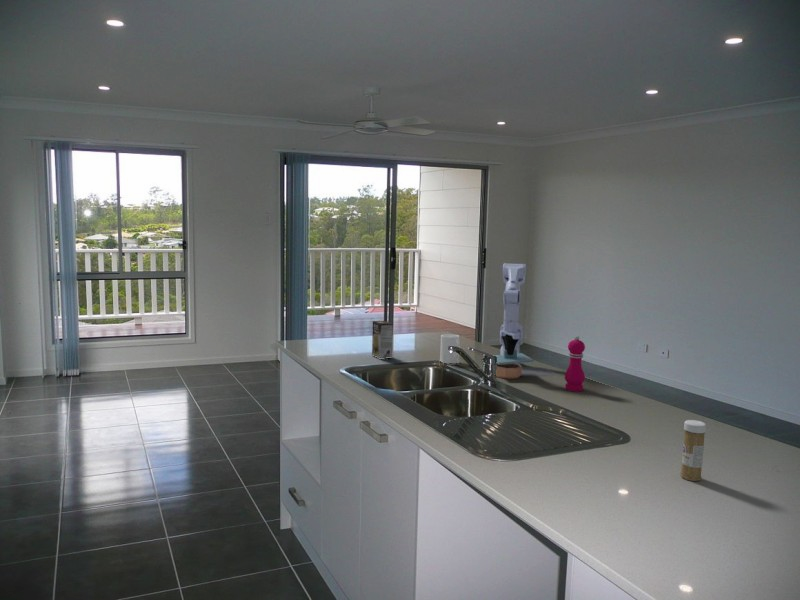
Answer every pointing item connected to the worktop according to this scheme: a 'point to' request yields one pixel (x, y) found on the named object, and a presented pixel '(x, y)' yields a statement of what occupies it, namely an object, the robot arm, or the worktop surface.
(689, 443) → the sprinkles bottle
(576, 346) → the pepper mill
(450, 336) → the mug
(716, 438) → the worktop surface
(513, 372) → the bowl
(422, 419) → the worktop surface
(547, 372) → the mat
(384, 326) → the coffee box
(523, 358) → the cover sheet
